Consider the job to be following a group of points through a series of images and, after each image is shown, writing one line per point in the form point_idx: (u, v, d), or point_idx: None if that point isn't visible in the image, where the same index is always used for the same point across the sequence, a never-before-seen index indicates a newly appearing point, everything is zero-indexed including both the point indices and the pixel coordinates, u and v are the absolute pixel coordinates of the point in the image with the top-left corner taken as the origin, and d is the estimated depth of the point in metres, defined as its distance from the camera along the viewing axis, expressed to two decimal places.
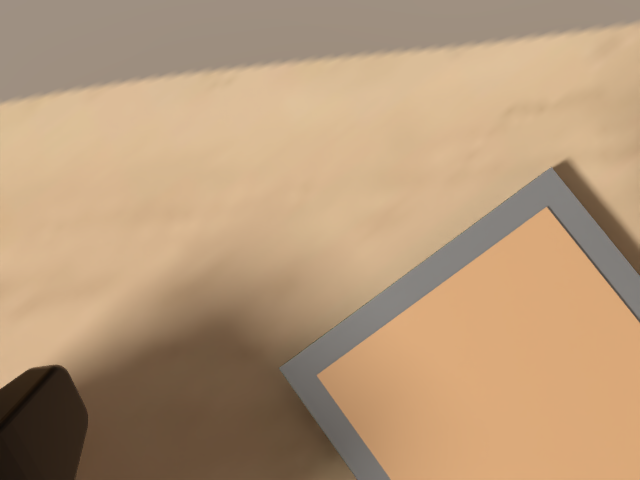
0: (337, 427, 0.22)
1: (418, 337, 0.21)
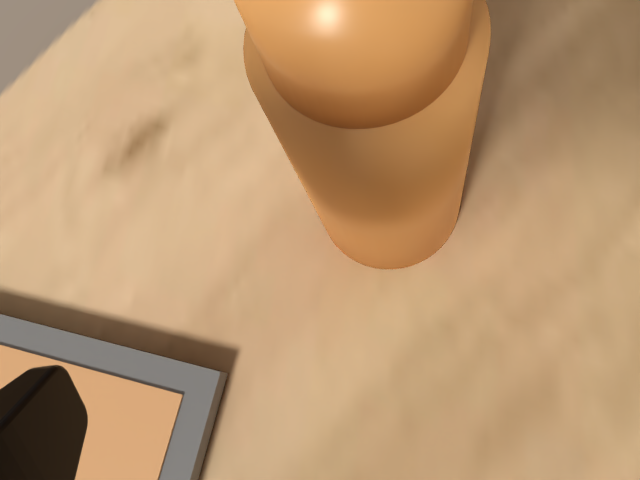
0: None
1: None
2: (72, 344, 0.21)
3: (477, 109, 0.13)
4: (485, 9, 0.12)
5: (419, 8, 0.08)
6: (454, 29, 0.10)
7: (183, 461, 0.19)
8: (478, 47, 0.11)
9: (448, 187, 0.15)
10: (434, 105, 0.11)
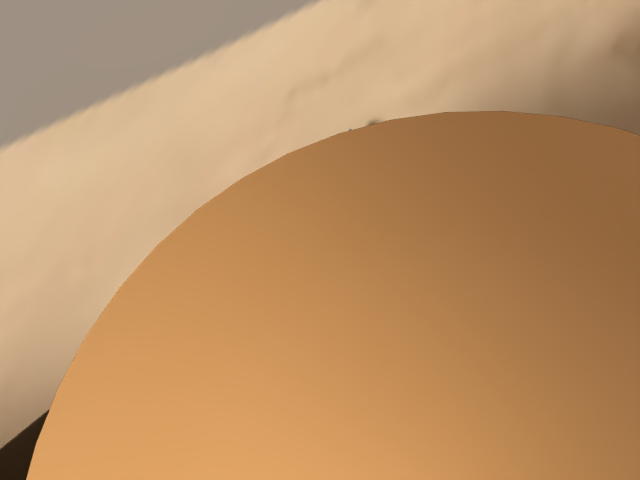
0: None
1: None
2: None
3: None
4: None
5: None
6: None
7: None
8: None
9: None
10: None
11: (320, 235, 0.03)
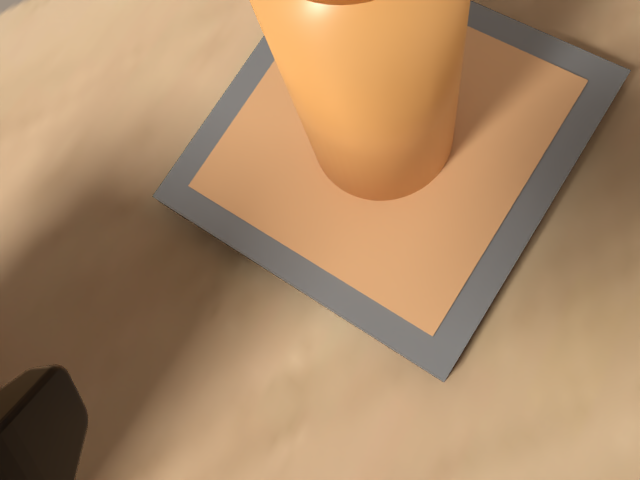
0: (223, 224, 0.21)
1: (268, 113, 0.22)
2: (480, 14, 0.22)
3: (469, 0, 0.13)
4: None
5: None
6: None
7: (576, 137, 0.20)
8: None
9: (441, 93, 0.15)
10: None
11: None
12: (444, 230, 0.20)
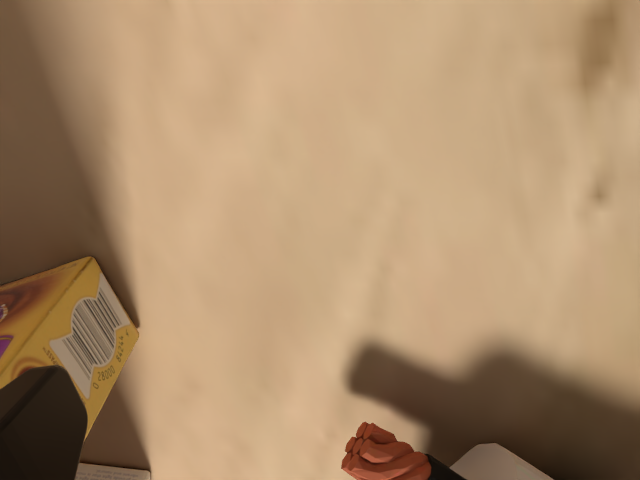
0: None
1: None
2: None
3: None
4: None
5: None
6: None
7: None
8: None
9: None
10: None
11: None
12: None
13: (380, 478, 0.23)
